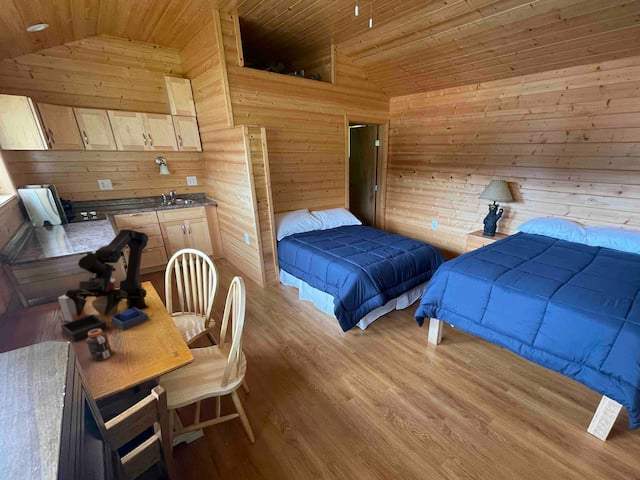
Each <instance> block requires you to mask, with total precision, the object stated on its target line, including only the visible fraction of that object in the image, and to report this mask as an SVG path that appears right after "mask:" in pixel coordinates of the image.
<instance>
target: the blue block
mask: <svg viewBox="0 0 640 480" xmlns="http://www.w3.org/2000/svg"><path fill="white" fill-rule="evenodd" d="M123 311H124V312H123ZM123 311H121V312H122V313H120V312H119V313H120V317H121V321H122V322H125V321H128V320H131V319H133V318H136V317H138V314H137V311H136V310H131V309H125V310H123Z"/></svg>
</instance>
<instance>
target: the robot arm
mask: <svg viewBox="0 0 640 480" xmlns="http://www.w3.org/2000/svg"><path fill="white" fill-rule="evenodd" d="M148 241H149V235H147V233H145V232H143V231H142V232H140V231H136V230H134V229H125V228H124V229H120V230H119V233H118V234H117V235H116V236H115V237H114V238H113V239H112V240H111V241H110V242H109V243H108V244H106V245H104V246H102V247H101V246H100V247H99V248H98V249H97V250H96V251H95V252H87V253H86V255H85V256H82V257H81V258H80V259H79V260H78V262H77V264H78V267H79V268H81V269H82V270H84V271H86V272H88V273H90V274H92V277H89V278H88V280H83V281H82V280H79V281H78V289H76V288H72V289H70V288H69V289H67V290H66V291H65V293H64V295H65V296H67V297H69V299H72V300H73V301H74V304H75V307H76V312H77V316H80V315H81V313H82V311H83V309H84V310H85V306H86V304H87V301H88V300H86V299H87V298H89V297H91V298H96V297H104V296H107V305H106V309H105V314H104V315H108V314H109V312H110V311H111V310H112V309H113V308H114V307H115V306H116V305H117V304H118V303H119V304H120V302H123V301H124V300H126V301H125V305H126V310H128V309H131V308H134V307H136V308H138V309H139V310H141V311H142V310H144V309H147V308H148V307H149V306H148V305H146V301H145V298H146V297H147V295H148V294H147V290H146V289H145V288H143V283H142V282H141V280H140V279H139V278H140V270H141V261H142V253H143V250H144V249H145V248H146V247H147V245H148ZM126 246H127V247H128V249H129V252H128V259H127V265H126V267H127V268H126V276H125V278H124V279H123V280H120V282H119V287H118V288H114V289H110V290H109V291H108V288H109V285H112V282H110V280H111V278H112V276H113V272H116V267H114V264H117V263H118V262H119V261H120V259H121V256H122V253H121V252H122V251H123V249H124V248H125V247H126Z"/></svg>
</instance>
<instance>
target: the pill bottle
mask: <svg viewBox="0 0 640 480" xmlns="http://www.w3.org/2000/svg"><path fill="white" fill-rule="evenodd" d="M85 340H86V344H87V347H88V351H89V354H90V356H91V359H92V360H93V361H102V360H106V359H107V358H110V357H111V356H112V354H113V352H112V349H111V345H110V342H109V338H108V335H107V333H106V332H103V331H102V330H101V329H94V330H91V331H89V332H88V337H86V339H85Z"/></svg>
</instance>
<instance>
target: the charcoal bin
mask: <svg viewBox="0 0 640 480" xmlns="http://www.w3.org/2000/svg"><path fill="white" fill-rule="evenodd" d="M60 328H61V330H62V333H63V334H65V335H66V336H67V337H69V338H70V339H71V340H72V341H74V342H77V341H80V340H82V339H86V338H88V337H89V336H88V332H89V331H91V330H94V329H101V330H102V332H103V331H106V330H108V326H107V322H106V321H105V320H103V319H102V318H100V317H98V316H97V315H95V314H94V313H93V314H90V315H89V314H88V315H86V316H85V317H83V318H80V319H77V320H75V321H72V322H70V321H68V322H66V323H63V324H61V325H60Z"/></svg>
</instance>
